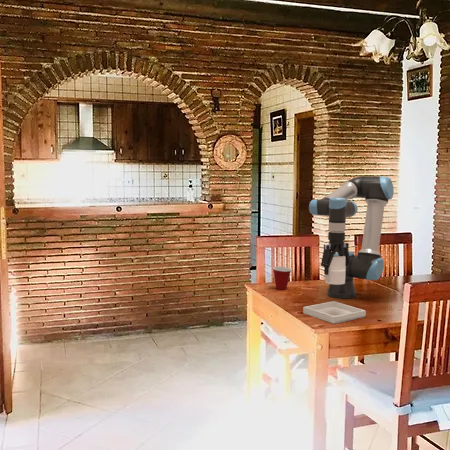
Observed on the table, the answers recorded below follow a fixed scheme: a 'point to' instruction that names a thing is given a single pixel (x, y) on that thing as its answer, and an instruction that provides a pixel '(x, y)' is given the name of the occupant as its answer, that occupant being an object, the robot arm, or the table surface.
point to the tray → (334, 312)
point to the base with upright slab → (337, 270)
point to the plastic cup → (281, 277)
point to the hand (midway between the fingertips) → (335, 280)
